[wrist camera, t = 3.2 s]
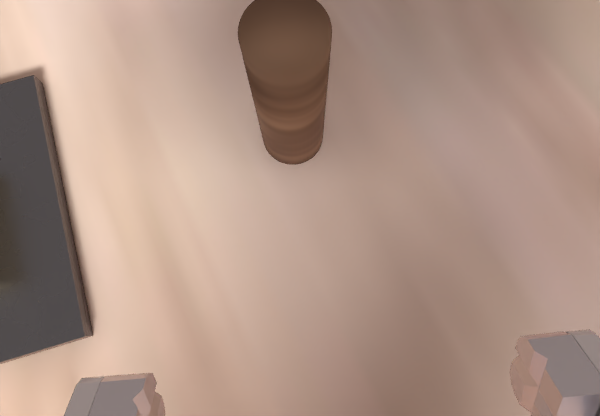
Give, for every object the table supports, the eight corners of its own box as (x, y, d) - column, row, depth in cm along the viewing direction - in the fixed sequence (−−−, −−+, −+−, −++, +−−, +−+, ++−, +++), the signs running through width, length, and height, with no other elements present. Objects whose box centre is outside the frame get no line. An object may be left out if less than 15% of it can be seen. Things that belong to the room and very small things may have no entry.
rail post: (330, 154, 29) (344, 59, 18) (272, 171, 29) (252, 85, 18) (312, 101, 30) (316, -21, 19) (256, 117, 29) (227, 4, 19)
